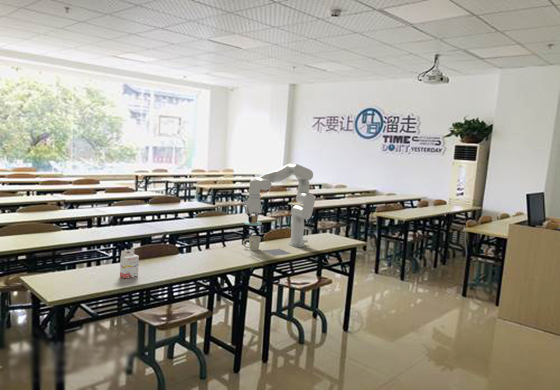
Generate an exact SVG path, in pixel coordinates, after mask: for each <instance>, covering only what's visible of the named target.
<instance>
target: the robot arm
mask: <svg viewBox="0 0 560 390" xmlns="http://www.w3.org/2000/svg"><path fill="white" fill-rule="evenodd" d="M291 176H294V177H295V179H297V181H298V187H297V192H296V197H295V201H296V202H297V203H299V204H296V205H293V207H292V208H291V213H290V214H291V228H290V229H291V231H290V242H288V244H287V245H288V246H291V247H293V248H294V247H295V248H303V247H305V246H306V245H305V243H307V244H308V239H304V232H305V220H309V219H310V218H311V217H312V215H313V210H314V207H315V200H316V197H315V196H314V194H313V193H312V192H310V187H311V186H310V185H311V184H310V180H312V179H313V178H314V172H313V171H312V170H311V169H310V168H308V167H306V166H303V165H300V164H297V163H287V164H286V165H284V166H282V167H280V168H279V169H277V170H274V171H271V172H268V173H265V174H262V175H261V176H259V177H257V178H251V179H250V180H249V187H248V188H249V189H248V197H247V201H246V206H245V211H244V214H246V215H247V217H248V220H247V221H249V222H252V217H251V215H253V213H254V215H255V216H257V220H258V219H259V218H258V217H259V215H261V214H262V212H263V210H262V205H261V204H262V203H261V197H262V195H261V194H260V193H261V190H263V191H267V190H270V189H271V188H272V183H278V182H283V181H284V180H286V179H287V178H289V177H291Z"/></svg>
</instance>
